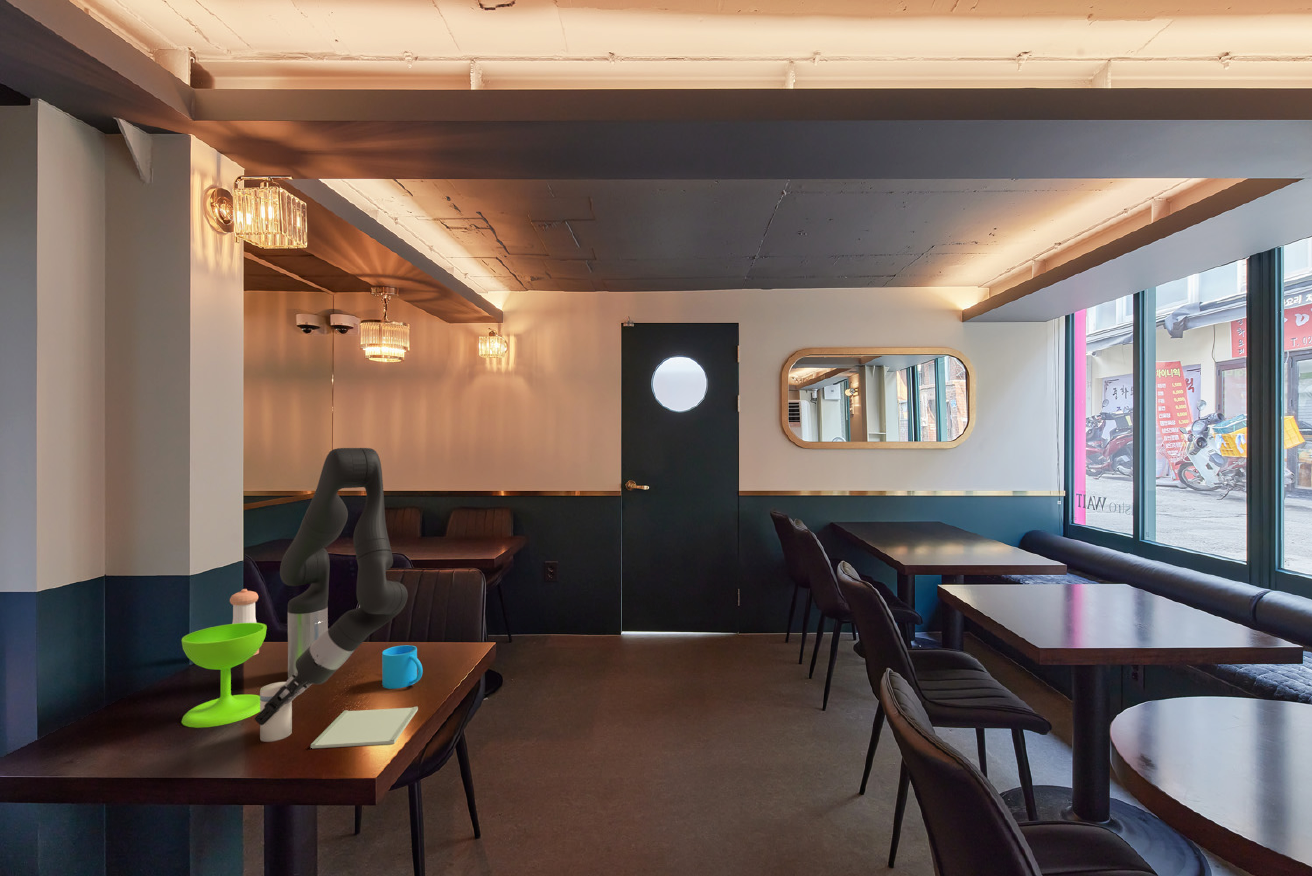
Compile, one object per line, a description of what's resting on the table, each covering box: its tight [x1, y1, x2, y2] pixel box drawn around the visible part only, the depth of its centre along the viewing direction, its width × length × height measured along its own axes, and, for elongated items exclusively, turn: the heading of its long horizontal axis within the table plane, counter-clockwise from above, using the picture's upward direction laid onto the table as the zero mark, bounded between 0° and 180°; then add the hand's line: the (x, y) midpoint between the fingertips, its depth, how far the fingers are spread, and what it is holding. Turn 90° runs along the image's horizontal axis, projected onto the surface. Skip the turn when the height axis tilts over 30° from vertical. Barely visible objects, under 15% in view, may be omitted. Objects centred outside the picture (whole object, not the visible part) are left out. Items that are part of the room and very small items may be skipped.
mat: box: [310, 706, 419, 749], centre depth 130 cm, size 16×16×1 cm
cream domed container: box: [259, 681, 293, 743], centre depth 127 cm, size 6×6×10 cm
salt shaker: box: [229, 588, 260, 657], centre depth 180 cm, size 7×7×19 cm
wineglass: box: [181, 622, 268, 729], centre depth 139 cm, size 16×16×18 cm
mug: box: [381, 644, 424, 690], centre depth 155 cm, size 12×8×8 cm
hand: (267, 715), depth 127 cm, fingers closed on cream domed container, 5 cm apart
